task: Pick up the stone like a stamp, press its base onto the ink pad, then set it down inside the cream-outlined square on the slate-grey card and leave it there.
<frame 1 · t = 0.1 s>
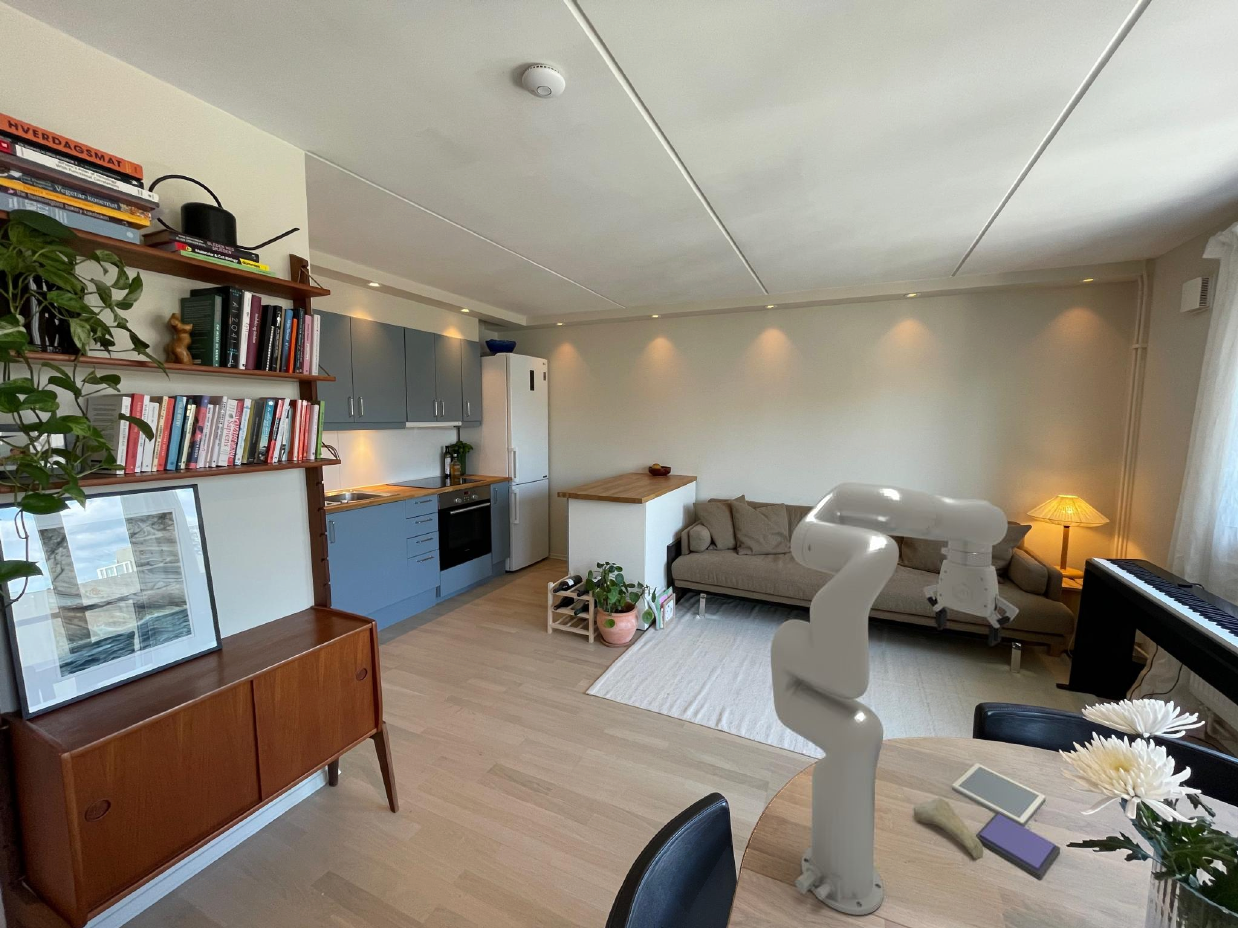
hand: (966, 635, 105), 31 cm above the table, fingers open, 9 cm apart
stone: (948, 838, 91), on the table
print card: (997, 794, 101), on the table
ink pad: (1016, 846, 89), on the table
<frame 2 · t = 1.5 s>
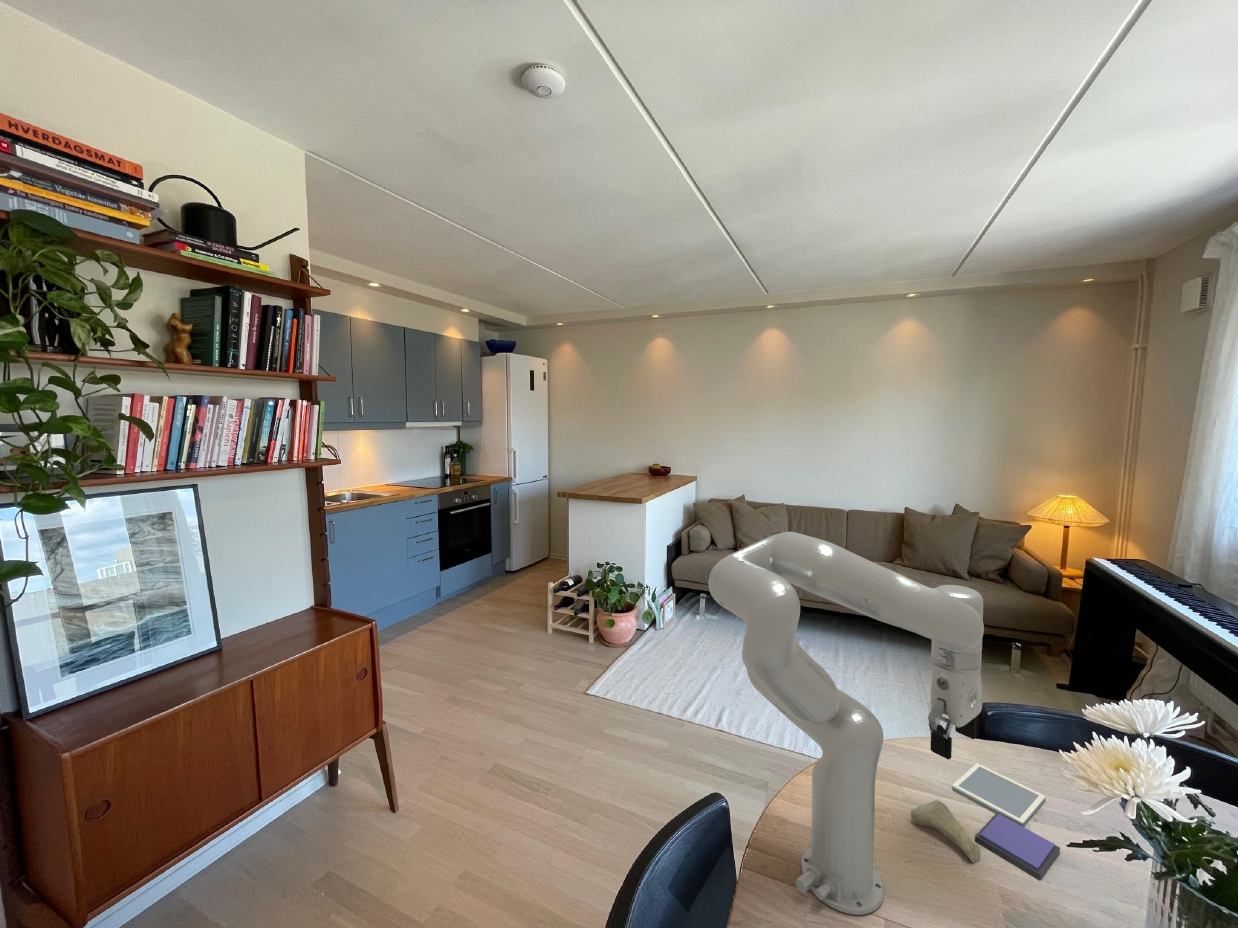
hand: (953, 744, 90), 18 cm above the table, fingers open, 9 cm apart
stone: (946, 840, 91), on the table
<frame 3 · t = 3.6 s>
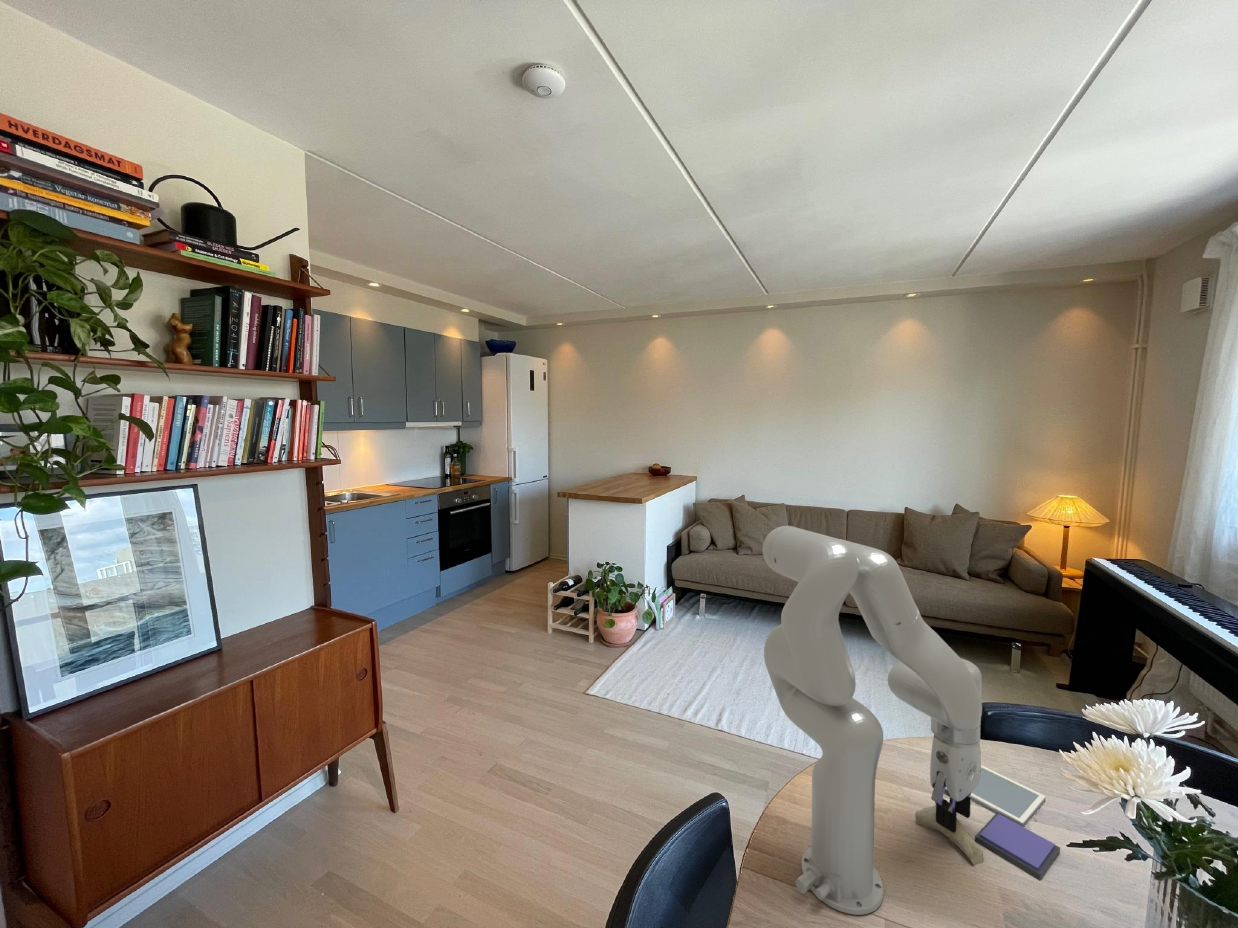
hand: (953, 818, 92), 3 cm above the table, fingers closed on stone, 4 cm apart
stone: (950, 844, 91), on the table, touching gripper
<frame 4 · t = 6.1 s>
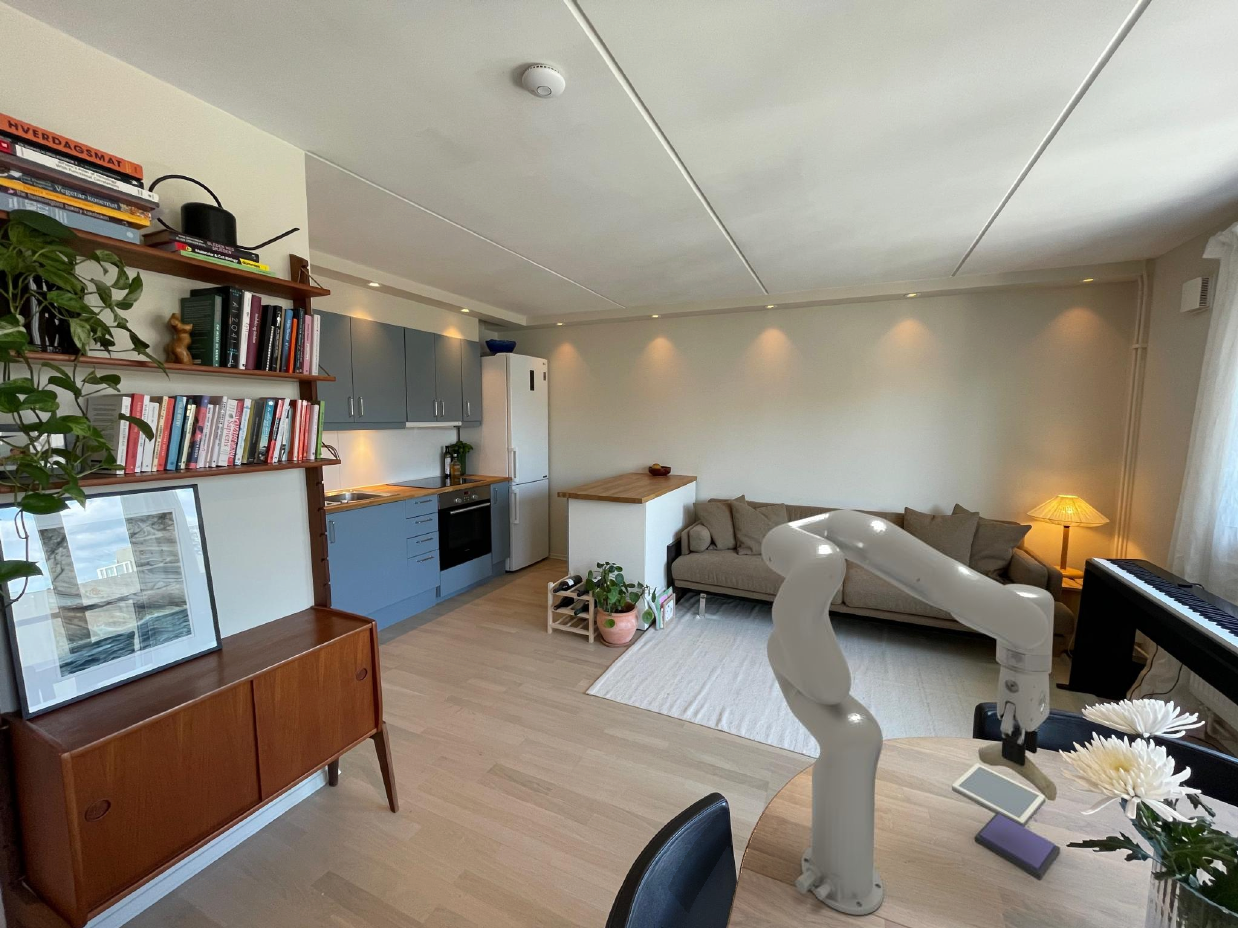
hand: (1019, 754, 88), 18 cm above the table, fingers closed on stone, 4 cm apart
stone: (1017, 780, 86), point 14 cm above the table, touching gripper
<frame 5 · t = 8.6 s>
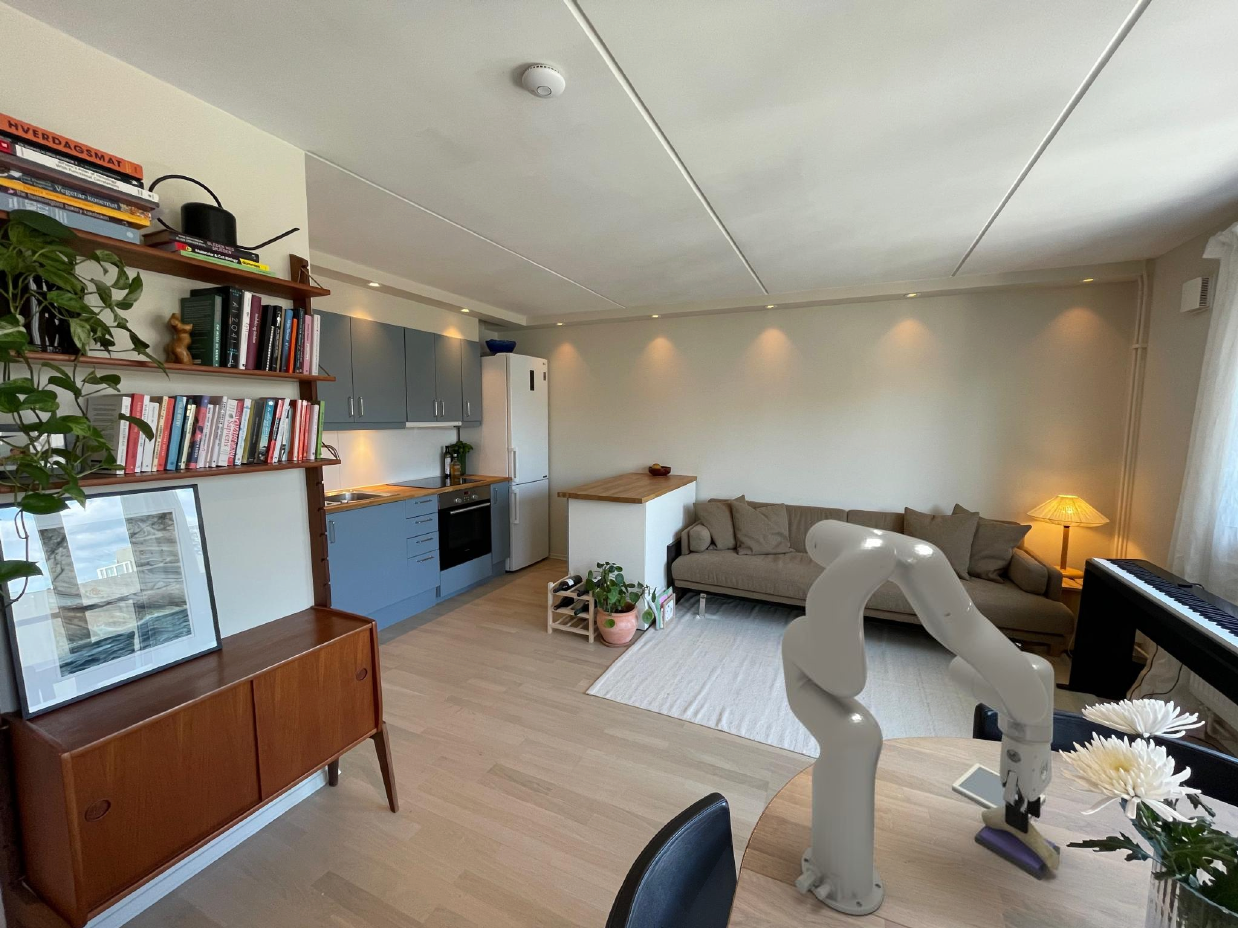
hand: (1022, 819, 88), 5 cm above the table, fingers closed on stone, 4 cm apart
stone: (1020, 846, 87), point 1 cm above the table, touching gripper, ink pad
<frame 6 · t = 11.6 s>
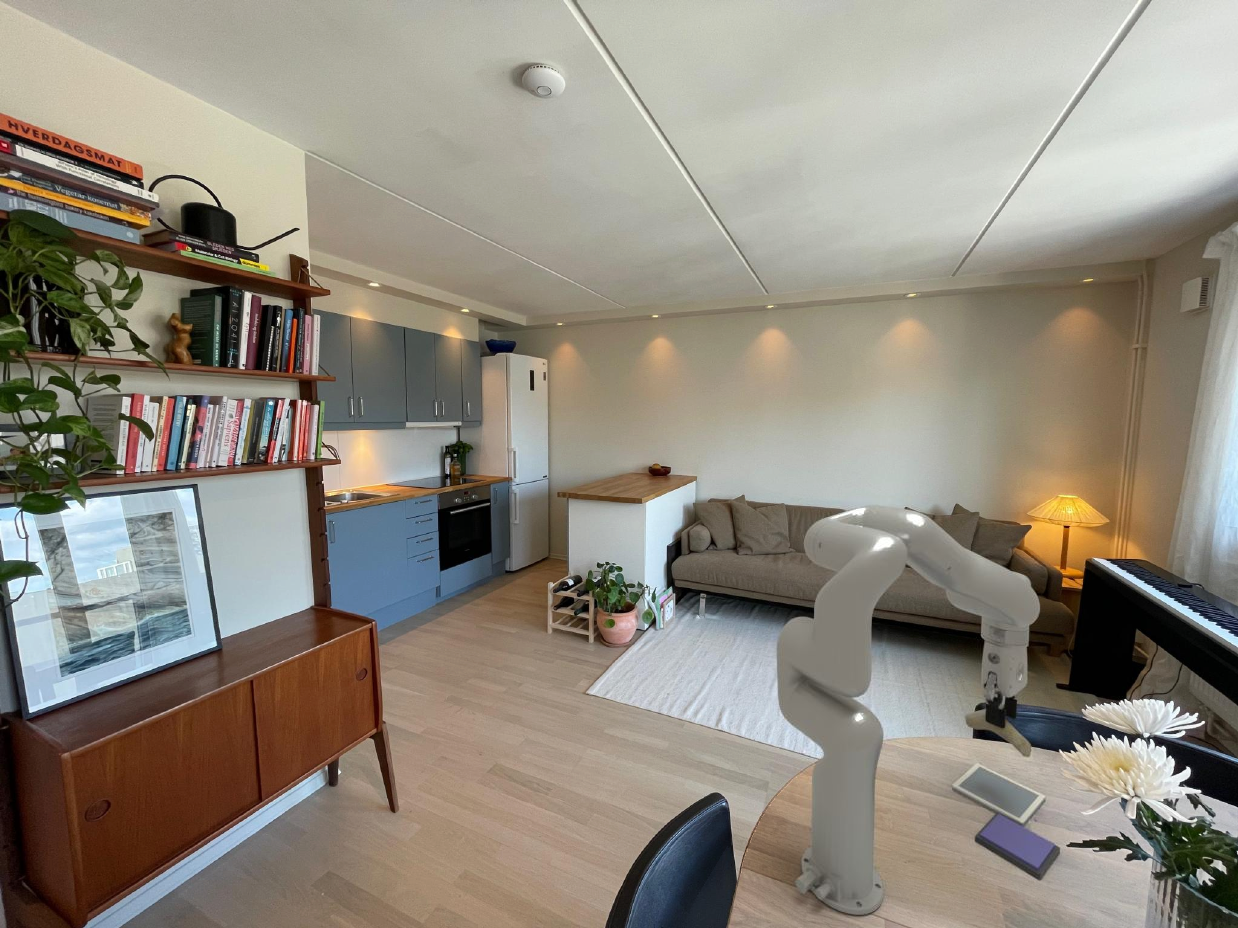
hand: (1000, 718, 100), 16 cm above the table, fingers closed on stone, 4 cm apart
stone: (998, 741, 99), point 13 cm above the table, touching gripper
when the fingers open (5 cm above the table, at t = 14.4 s): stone stays where it is, resting on print card.
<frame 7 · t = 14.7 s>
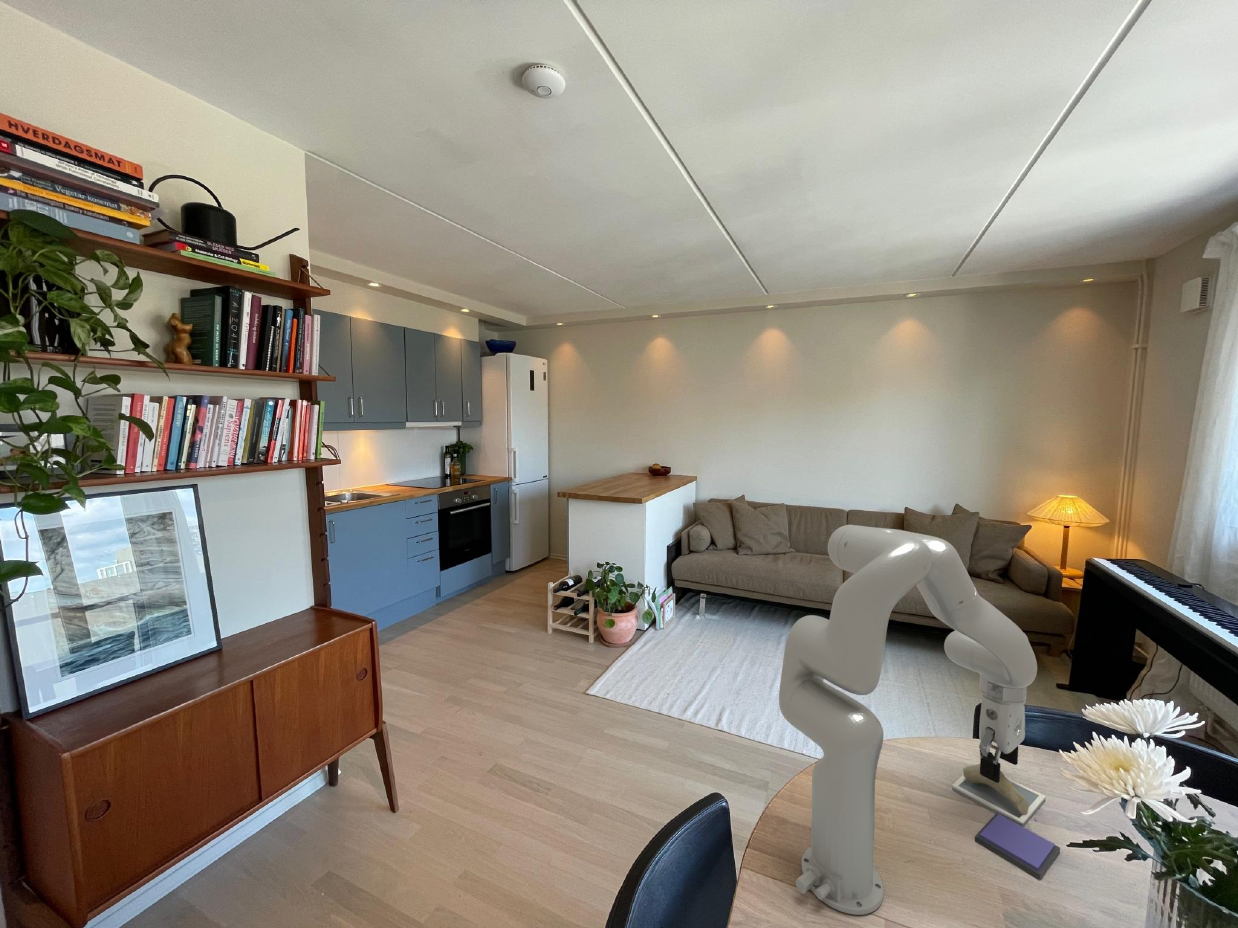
hand: (998, 769, 101), 6 cm above the table, fingers open, 8 cm apart
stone: (996, 796, 100), point 1 cm above the table, touching print card
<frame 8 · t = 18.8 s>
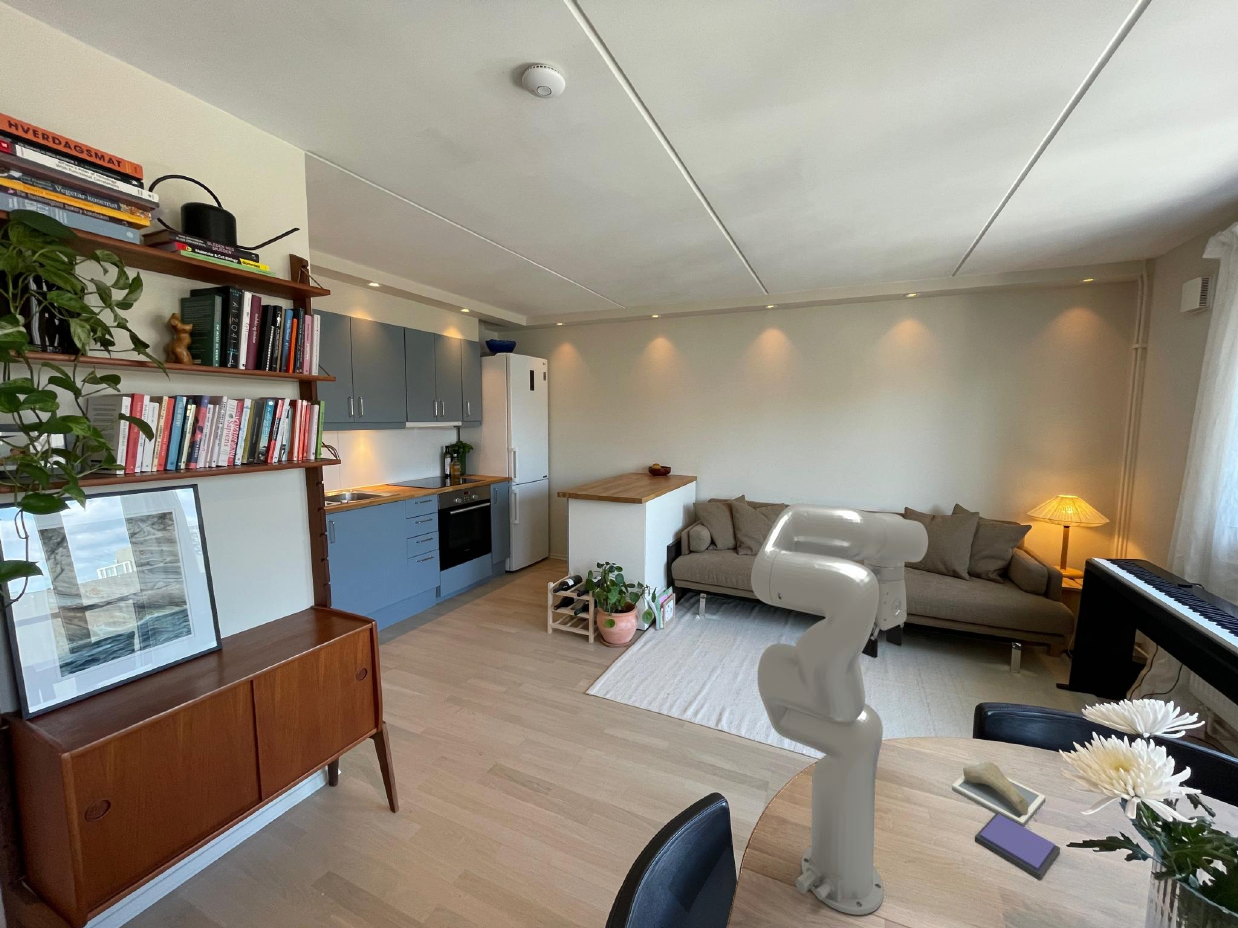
hand: (882, 649, 106), 28 cm above the table, fingers open, 9 cm apart
nothing on the table moved.
at the end: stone inside the target area on the print card (2.0 cm from its centre), point 0.8 cm above the print card's base; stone touching print card; the gripper is holding nothing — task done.
